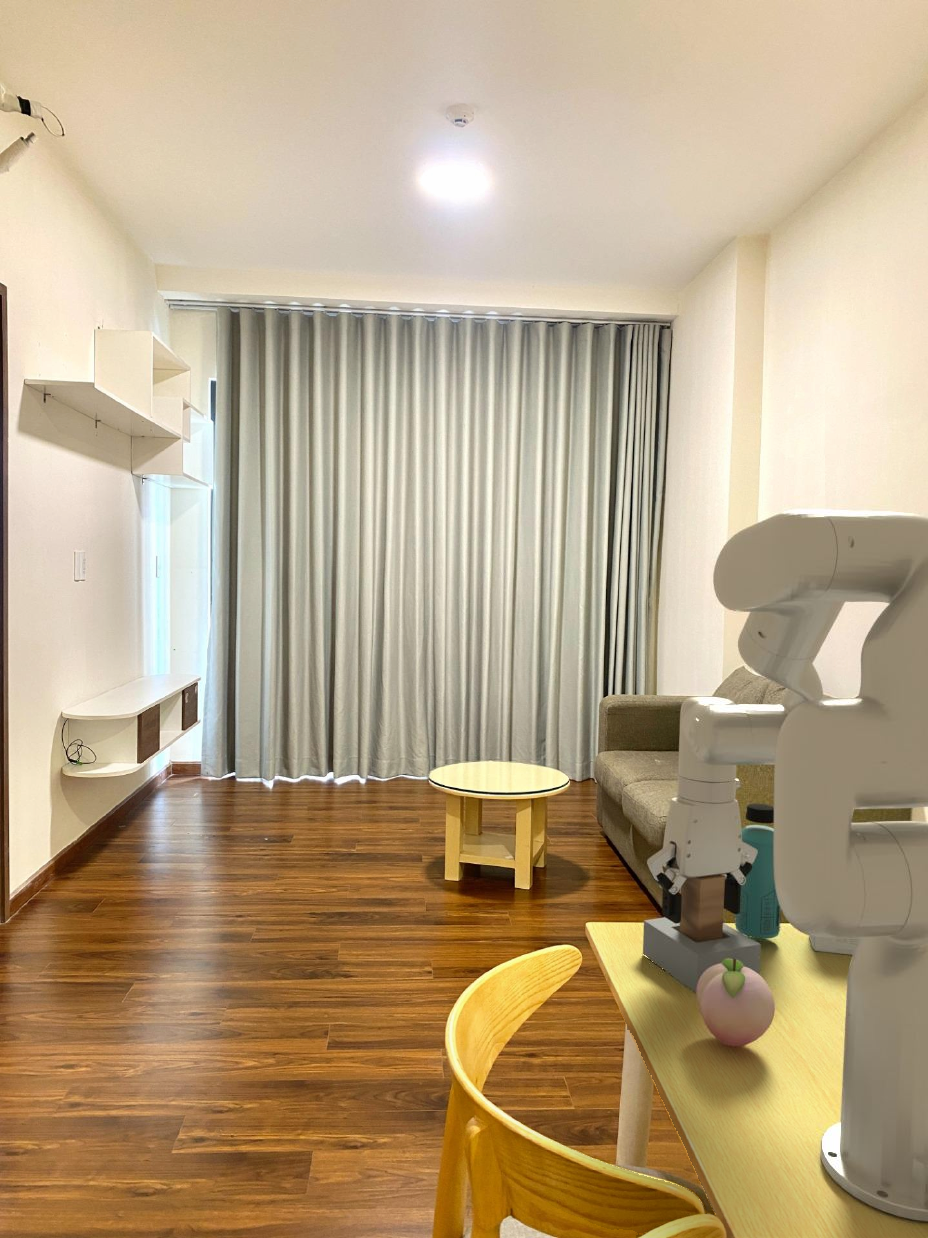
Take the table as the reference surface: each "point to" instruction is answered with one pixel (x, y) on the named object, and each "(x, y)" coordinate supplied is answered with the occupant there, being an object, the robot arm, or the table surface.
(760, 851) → the beverage bottle
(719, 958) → the socket block
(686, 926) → the walnut peg
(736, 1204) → the table surface
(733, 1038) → the decorative fruit
